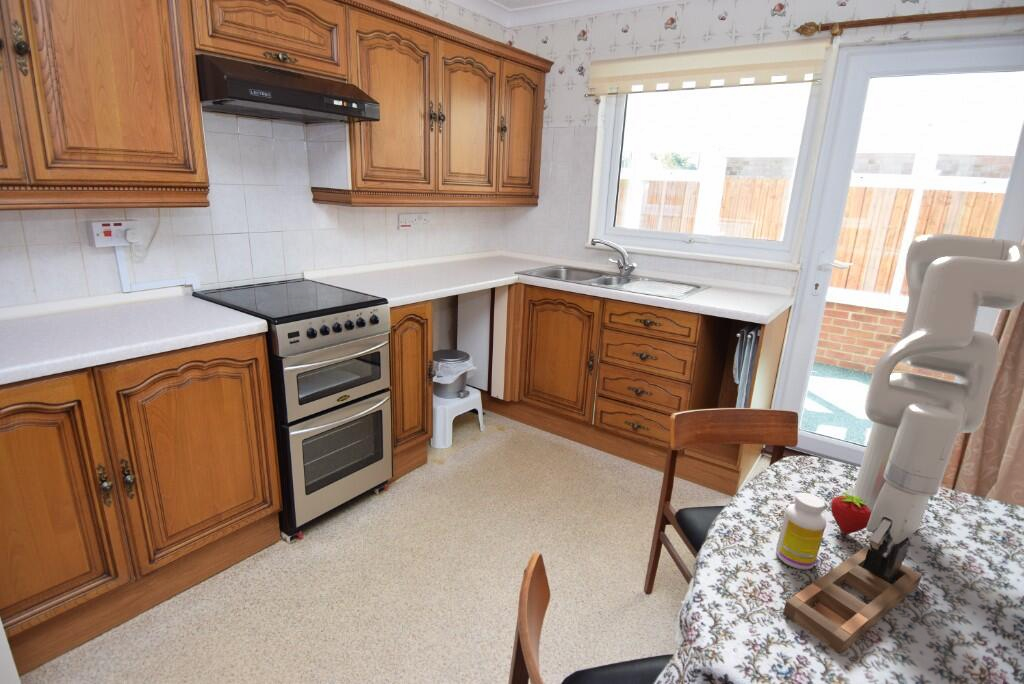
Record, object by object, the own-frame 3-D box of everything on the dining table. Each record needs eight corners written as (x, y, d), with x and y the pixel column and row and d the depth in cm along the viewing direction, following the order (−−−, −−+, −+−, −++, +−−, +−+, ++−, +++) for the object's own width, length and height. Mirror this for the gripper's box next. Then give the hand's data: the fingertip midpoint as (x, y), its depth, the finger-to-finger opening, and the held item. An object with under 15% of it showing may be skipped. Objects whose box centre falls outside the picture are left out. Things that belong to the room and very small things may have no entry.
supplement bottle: (819, 574, 96) (837, 513, 93) (780, 567, 98) (796, 507, 94) (807, 550, 103) (823, 492, 99) (771, 544, 104) (785, 486, 100)
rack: (863, 556, 102) (867, 545, 101) (917, 586, 95) (922, 574, 94) (783, 613, 87) (786, 600, 86) (840, 654, 80) (844, 640, 79)
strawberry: (853, 548, 104) (867, 504, 101) (817, 526, 111) (829, 484, 108) (871, 541, 107) (885, 498, 104) (835, 519, 113) (847, 478, 110)
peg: (870, 570, 99) (884, 528, 96) (894, 583, 95) (909, 541, 93) (860, 577, 96) (873, 535, 94) (884, 592, 93) (899, 549, 91)
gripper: (908, 454, 97) (882, 536, 103) (864, 478, 88) (837, 567, 93) (958, 474, 91) (927, 560, 97) (916, 501, 82) (884, 596, 87)
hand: (883, 563), depth 95 cm, fingers open, 6 cm apart
